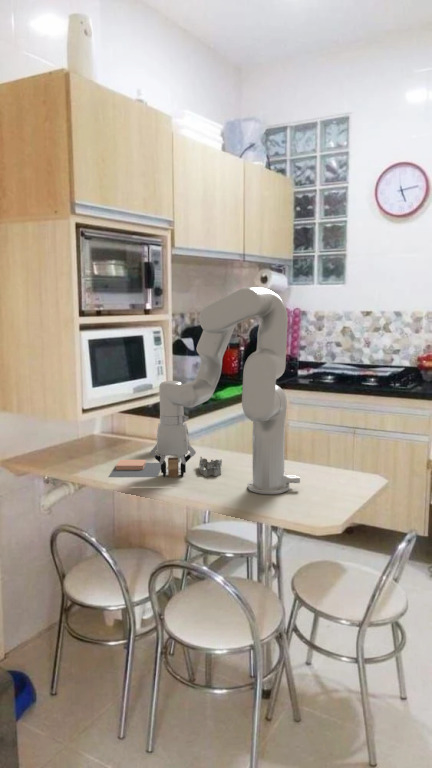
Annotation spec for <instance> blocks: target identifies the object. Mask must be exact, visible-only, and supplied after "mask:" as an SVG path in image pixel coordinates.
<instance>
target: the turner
mask: <svg viewBox="0 0 432 768" xmlns="http://www.w3.org/2000/svg"><path fill="white" fill-rule="evenodd" d="M168 457H169V456H168ZM180 473H181V465H179V462H178V457H169V459H168V458H167V466H166V474H167V476H168V478H178V477H179V474H180Z"/></svg>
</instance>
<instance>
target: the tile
mask: <svg viewBox="0 0 432 768" xmlns="http://www.w3.org/2000/svg"><path fill="white" fill-rule="evenodd" d="M146 463H147V460H146V459H119V461H118V462H117V464H116V465H115V466H116V470H143V469H144V467H145V465H146Z"/></svg>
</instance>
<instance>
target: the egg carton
mask: <svg viewBox="0 0 432 768" xmlns="http://www.w3.org/2000/svg"><path fill="white" fill-rule="evenodd" d="M222 465H223V460H222V459H215V460H214V459H211V460H210V461H208V459H207V458H204V457H202V456H200V457H199V463H198V468H199V471H200V475H203V477H208V476H213V477H218V476H222V475H221V474H222V468H221V467H222ZM204 467H205V469H204Z"/></svg>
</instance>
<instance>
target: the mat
mask: <svg viewBox="0 0 432 768" xmlns="http://www.w3.org/2000/svg"><path fill="white" fill-rule="evenodd" d="M160 473H161V464H160V462H146V465H145V467H144V469H143V470H116V465H115V466H114V468H113V470H112V471H111V472H110V473H109V475H108V476H107V477H108V478H158V477H159V475H160Z"/></svg>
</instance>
